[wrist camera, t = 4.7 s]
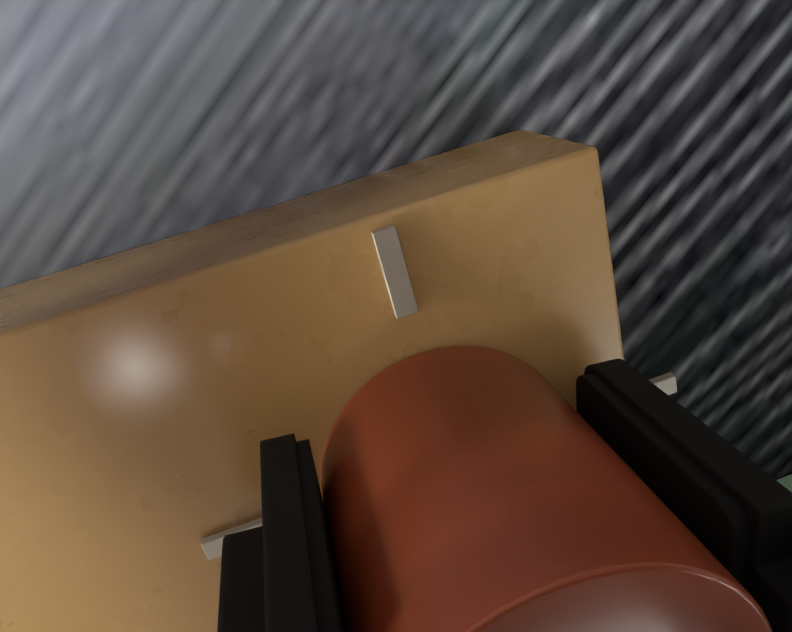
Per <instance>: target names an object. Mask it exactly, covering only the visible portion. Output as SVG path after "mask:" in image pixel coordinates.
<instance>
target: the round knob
mask: <svg viewBox="0 0 792 632" xmlns="http://www.w3.org/2000/svg"><path fill="white" fill-rule="evenodd" d="M320 481H321V491H322V497H323V503H324V509H325V515H326V521H327V527H328V533H329V539H330V545H331V551H332V557H333V562H334V568H335V574H336V580H337V586H338V592H339V598H340V604H341V610H342V616H343V622H344V628H345V632H773V631H772V628H771V625H770V623H769V621H768V619H767V617H766V615H765V613H764V611H763V609H762V608H761V607H760V606H759V604H758V603H757V602H756V601H755V599H754V598H753V597H752V596H751V595H750V593H749V592H748V591H747V590H746V589H745V588H744V587H743V586H742V585H741V584H740V583H739V582H738V581H737V580H736V579H735V578H734V577H733V576H732V574H731V573H730V572H729V571H728V570H727V569H726V568H725V567H724V566H723V565H722V564H721V563H720V562H719V561H718V560H717V559H716V558H715V557H714V556H713V554H712V553H711V552H710V551H709V550H708V549H707V548H706V547H705V546H704V545H703V544H702V543H701V542H700V541H699V540H698V539H697V538H696V537H695V536H694V534H693V533H692V532H691V531H690V530H689V529H688V528H687V527H686V526H685V525H684V524H683V523H682V522H681V521H680V520H679V519H678V518H677V517H676V515H675V514H674V513H673V512H672V511H671V510H670V509H669V508H668V507H667V506H666V505H665V504H664V503H663V502H662V501H661V500H660V499H659V498H658V497H657V495H656V494H655V493H654V492H653V491H652V490H651V489H650V488H649V487H648V486H647V485H646V484H645V483H644V482H643V481H642V480H641V479H640V478H639V477H638V475H637V474H636V473H635V472H634V471H633V470H632V469H631V468H630V467H629V466H628V465H627V464H626V463H625V462H624V461H623V460H622V459H621V458H620V456H619V455H618V454H617V453H616V452H615V451H614V450H613V449H612V448H611V447H610V446H609V445H608V444H607V443H606V442H605V441H604V440H603V439H602V438H601V436H600V435H599V434H598V433H597V432H596V431H595V430H594V429H593V428H592V427H591V426H590V425H589V424H588V423H587V422H586V421H585V420H584V419H583V418H582V416H581V415H580V414H579V413H578V412H577V411H576V410H575V409H574V408H573V407H572V406H571V405H570V404H569V403H568V402H567V401H566V400H565V399H564V397H563V396H562V395H561V394H560V393H559V392H558V391H557V390H556V389H555V388H554V387H553V386H552V385H551V384H550V383H549V382H548V381H547V380H546V379H545V377H544V376H543V375H541V374H540V373H539V372H538V371H537V370H536V369H534V368H533V367H532V366H530V365H529V364H527V363H526V362H524V361H522V360H521V359H519V358H517V357H514V356H512V355H510V354H508V353H505V352H501V351H498V350H494V349H490V348H483V347H475V346H453V347H445V348H438V349H434V350H430V351H426V352H422V353H419V354H416V355H414V356H411V357H408V358H406V359H403V360H401V361H399V362H398V363H396V364H394V365H392V366H390V367H388V368H386V369H385V370H384V371H382V372H381V373H379V374H378V375H376V376H375V377H373V378H372V379H371V380H370V381H369V382H367V383H366V384H365V385H364V386H363V387H362V388H360V389H359V390H358V392H357V393H356V394H355V395H354V396H353V397H352V398H351V399H350V400H349V401H348V403H347V404H346V405H345V407H344V408H343V410H342V411H341V413H340V414H339V415H338V417H337V419H336V421H335V423H334V424H333V426H332V428H331V430H330V432H329V435H328V438H327V440H326V443H325V446H324V450H323V455H322V459H321V470H320Z"/></svg>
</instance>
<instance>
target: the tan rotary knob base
mask: <svg viewBox="0 0 792 632" xmlns="http://www.w3.org/2000/svg"><path fill="white" fill-rule="evenodd" d="M453 346H475V347H483V348H490V349H494V350H498V351H501V352H505V353H508V354H510V355H512V356H514V357H517V358H519V359H521V360H522V361H524V362H526V363H527V364H529V365H530V366H532V367H533V368H534V369H536V370H537V371H538V372H539V373H540V374H541V375H543V376H544V377H545V379H546V380H547V381H548V382H549V383H550V384H551V385H552V386H553V387H554V388H555V389H556V390H557V391H558V392H559V393H560V394H561V395H562V396H563V397H564V399H565V400H566V401H567V402H568V403H569V404H570V405H571V406H572V407H573V408H574V409H575V410H576V411H577V408H576V380H577V377H578V376H581V375H584V370H585V368H586V367H587V366H588V365H591V364H595V363H600V362H604V361H608V360H613V359H619V358H620V359H622V360H624V354H623V346H622V338H621V330H620V323H619V315H618V307H617V299H616V291H615V283H614V275H613V267H612V260H611V252H610V244H609V236H608V228H607V220H606V212H605V204H604V197H603V189H602V181H601V173H600V165H599V157H598V151H597V149H596V147H594V146H590V145H586V144H581V143H577V142H573V141H568V140H564V139H560V138H555V137H551V136H547V135H542V134H538V133H534V132H529V131H525V130H516V131H513V132H510V133H506V134H503V135H500V136H497V137H493V138H490V139H487V140H484V141H480V142H477V143H474V144H471V145H467V146H464V147H461V148H458V149H454V150H451V151H448V152H445V153H441V154H438V155H435V156H432V157H428V158H425V159H422V160H419V161H415V162H412V163H409V164H406V165H402V166H399V167H396V168H393V169H390V170H386V171H383V172H380V173H377V174H373V175H370V176H367V177H364V178H360V179H357V180H354V181H351V182H347V183H344V184H341V185H338V186H334V187H331V188H328V189H325V190H321V191H318V192H315V193H312V194H308V195H305V196H302V197H299V198H295V199H292V200H289V201H286V202H282V203H279V204H276V205H273V206H269V207H266V208H263V209H260V210H256V211H253V212H250V213H247V214H243V215H240V216H237V217H234V218H230V219H227V220H224V221H221V222H217V223H214V224H211V225H208V226H205V227H201V228H198V229H195V230H192V231H188V232H185V233H182V234H179V235H175V236H172V237H169V238H166V239H162V240H159V241H156V242H153V243H149V244H146V245H143V246H140V247H136V248H133V249H130V250H127V251H123V252H120V253H117V254H114V255H110V256H107V257H104V258H101V259H97V260H94V261H91V262H88V263H84V264H81V265H78V266H75V267H71V268H68V269H65V270H62V271H58V272H55V273H52V274H49V275H45V276H42V277H39V278H36V279H32V280H29V281H26V282H23V283H20V284H16V285H13V286H10V287H7V288H3V289H0V632H217V627H218V610H219V592H220V575H221V558H222V544H223V538H224V536H225V535H229V534H233V533H237V532H241V531H245V530H249V529H253V528H257V527H261V526H262V500H261V463H260V441H262V440H266V439H271V438H275V437H279V436H284V435H288V434H292V433H294V435H295V438H296V442H298V441H302V440H306V439H309V441H310V445H311V450H312V454H313V459H314V463H315V468H316V472H317V477H318V481H319V486H320V490H321V481H320V470H321V459H322V455H323V450H324V446H325V443H326V440H327V438H328V435H329V432H330V430H331V428H332V426H333V424H334V423H335V421H336V419H337V417H338V415H339V414H340V413H341V411H342V410H343V408H344V407H345V405H346V404H347V403H348V401H349V400H350V399H351V398H352V397H353V396H354V395H355V394H356V393H357V392H358V390H359V389H360V388H362V387H363V386H364V385H365V384H366V383H367V382H369V381H370V380H371V379H372V378H373V377H375V376H376V375H378V374H379V373H381V372H382V371H384V370H385V369H386V368H388V367H390V366H392V365H394V364H396V363H398V362H399V361H401V360H403V359H406V358H408V357H411V356H414V355H416V354H419V353H422V352H426V351H430V350H434V349H438V348H445V347H453ZM649 381H651V382H652V383H653V384H654V385H656V386H657V387H658V388H660V389H661V390H662V391H663V392H665V393H666V394H667V395H671V394H674V393H676V392H677V384H676V376H675V375H674V374H673V373H671V372H669V373H667V374H664V375H661V376H658V377H655V378H652V379H650V380H649ZM321 495H322V491H321ZM322 499H323V497H322ZM323 504H324V503H323Z"/></svg>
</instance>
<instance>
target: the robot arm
mask: <svg viewBox="0 0 792 632" xmlns="http://www.w3.org/2000/svg"><path fill="white" fill-rule="evenodd" d="M576 408H577V412H578V413H579V414H580V415H581V416H582V418H583V419H584V420H585V421H586V422H587V423H588V424H589V425H590V426H591V427H592V428H593V429H594V430H595V431H596V432H597V433H598V434H599V435H600V436H601V438H602V439H603V440H604V441H605V442H606V443H607V444H608V445H609V446H610V447H611V448H612V449H613V450H614V451H615V452H616V453H617V454H618V455H619V456H620V458H621V459H622V460H623V461H624V462H625V463H626V464H627V465H628V466H629V467H630V468H631V469H632V470H633V471H634V472H635V473H636V474H637V475H638V477H639V478H640V479H641V480H642V481H643V482H644V483H645V484H646V485H647V486H648V487H649V488H650V489H651V490H652V491H653V492H654V493H655V494H656V495H657V497H658V498H659V499H660V500H661V501H662V502H663V503H664V504H665V505H666V506H667V507H668V508H669V509H670V510H671V511H672V512H673V513H674V514H675V515H676V517H677V518H678V519H679V520H680V521H681V522H682V523H683V524H684V525H685V526H686V527H687V528H688V529H689V530H690V531H691V532H692V533H693V534H694V536H695V537H696V538H697V539H698V540H699V541H700V542H701V543H702V544H703V545H704V546H705V547H706V548H707V549H708V550H709V551H710V552H711V553H712V554H713V556H714V557H715V558H716V559H717V560H718V561H719V562H720V563H721V564H722V565H723V566H724V567H725V568H726V569H727V570H728V571H729V572H730V573H731V574H732V576H733V577H734V578H735V579H736V580H737V581H738V582H739V583H740V584H741V585H742V586H743V587H744V588H745V589H746V590H747V591H748V592H749V593H750V595H751V596H752V597H753V598H754V599H755V601H756V602H757V603H758V604H759V606H760V607H761V608H762V609H763V611H764V613H765V615H766V617H767V619H768V621H769V623H770V625H771V628H772V631H773V632H792V492H791V491H789V490H788V489H787V488H786V487H784V486H783V485H782V484H780V483H779V482H778V481H777V480H775V479H774V478H773V477H772V476H770V475H769V474H768V473H766V472H765V471H764V470H763V469H761V468H760V467H759V466H758V465H756V464H755V463H754V462H752V461H751V460H750V459H749V458H747V457H746V456H745V455H744V454H742V453H741V452H740V451H738V450H737V449H736V448H735V447H733V446H732V445H731V444H730V443H728V442H727V441H726V440H724V439H723V438H722V437H721V436H719V435H718V434H717V433H716V432H714V431H713V430H712V429H710V428H709V427H708V426H707V425H705V424H704V423H703V422H702V421H700V420H699V419H698V418H696V417H695V416H694V415H693V414H691V413H690V412H689V411H688V410H686V409H685V408H684V407H682V406H681V405H680V404H679V403H677V402H676V401H675V400H674V399H672V398H671V397H670V396H668V395H667V394H666V393H665V392H663V391H662V390H661V389H660V388H658V387H657V386H656V385H654V384H653V383H652V382H651V381H649V380H648V379H647V378H646V377H644V376H643V375H642V374H640V373H639V372H638V371H637V370H635V369H634V368H633V367H632V366H630V365H629V364H628V363H627V362H625V361H624V360H622V359H620V358H619V359H613V360H608V361H604V362H600V363H595V364H591V365H588V366H587V367H586V368H585V370H584V375H581V376H578V377H577V380H576ZM260 463H261V500H262V526H261V527H257V528H253V529H249V530H245V531H241V532H237V533H233V534H229V535H225V536H224V538H223V544H222V558H221V575H220V592H219V610H218V627H217V632H345V628H344V622H343V616H342V610H341V604H340V598H339V592H338V586H337V580H336V574H335V568H334V562H333V557H332V551H331V545H330V539H329V533H328V527H327V521H326V515H325V509H324V504H323V499H322V495H321V490H320V486H319V481H318V477H317V472H316V468H315V463H314V459H313V454H312V450H311V445H310V441H309V439H306V440H302V441H298V442H296V438H295V435H294V433H292V434H288V435H284V436H279V437H275V438H271V439H266V440H262V441H260Z"/></svg>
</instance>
